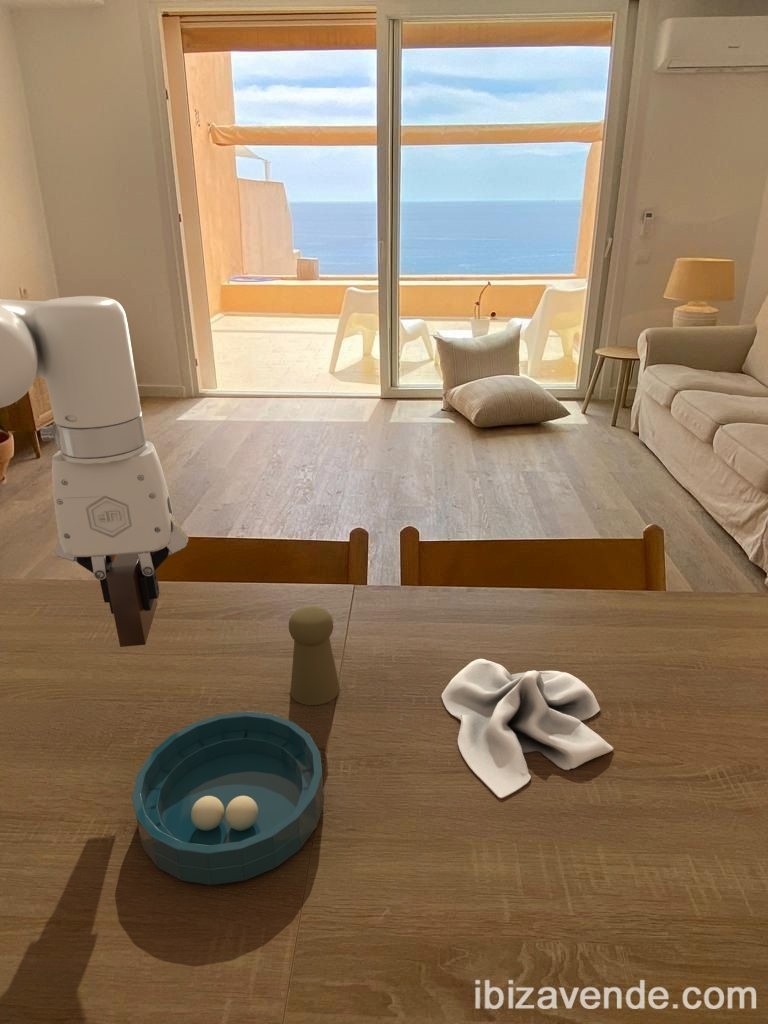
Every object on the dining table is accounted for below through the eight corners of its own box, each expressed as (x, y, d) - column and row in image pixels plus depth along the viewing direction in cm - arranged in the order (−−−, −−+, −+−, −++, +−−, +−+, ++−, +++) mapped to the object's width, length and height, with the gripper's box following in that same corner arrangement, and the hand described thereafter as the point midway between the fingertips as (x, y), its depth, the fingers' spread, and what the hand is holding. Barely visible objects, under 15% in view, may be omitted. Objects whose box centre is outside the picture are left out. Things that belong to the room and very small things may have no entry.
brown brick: (120, 647, 70) (106, 576, 67) (134, 606, 78) (122, 540, 74) (145, 645, 71) (132, 574, 67) (157, 604, 78) (146, 538, 75)
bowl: (124, 902, 59) (115, 865, 57) (155, 754, 75) (148, 721, 73) (330, 873, 62) (328, 837, 60) (317, 735, 77) (315, 703, 76)
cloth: (441, 661, 90) (442, 620, 87) (588, 666, 88) (593, 626, 86) (440, 795, 69) (442, 748, 67) (630, 806, 68) (639, 758, 65)
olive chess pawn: (281, 698, 83) (274, 621, 79) (303, 669, 88) (298, 595, 84) (327, 710, 81) (323, 631, 77) (347, 679, 86) (344, 603, 82)
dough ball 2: (269, 816, 65) (244, 833, 63) (252, 822, 67) (228, 839, 65) (255, 786, 66) (230, 802, 63) (239, 793, 67) (214, 809, 65)
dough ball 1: (214, 783, 66) (186, 798, 64) (231, 806, 65) (202, 822, 63) (212, 804, 68) (184, 820, 66) (228, 826, 66) (200, 843, 64)
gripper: (-4, 454, 60) (41, 632, 68) (186, 443, 62) (210, 618, 70) (24, 428, 67) (62, 593, 74) (195, 420, 69) (215, 581, 77)
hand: (133, 604), depth 72 cm, fingers closed on brown brick, 2 cm apart
